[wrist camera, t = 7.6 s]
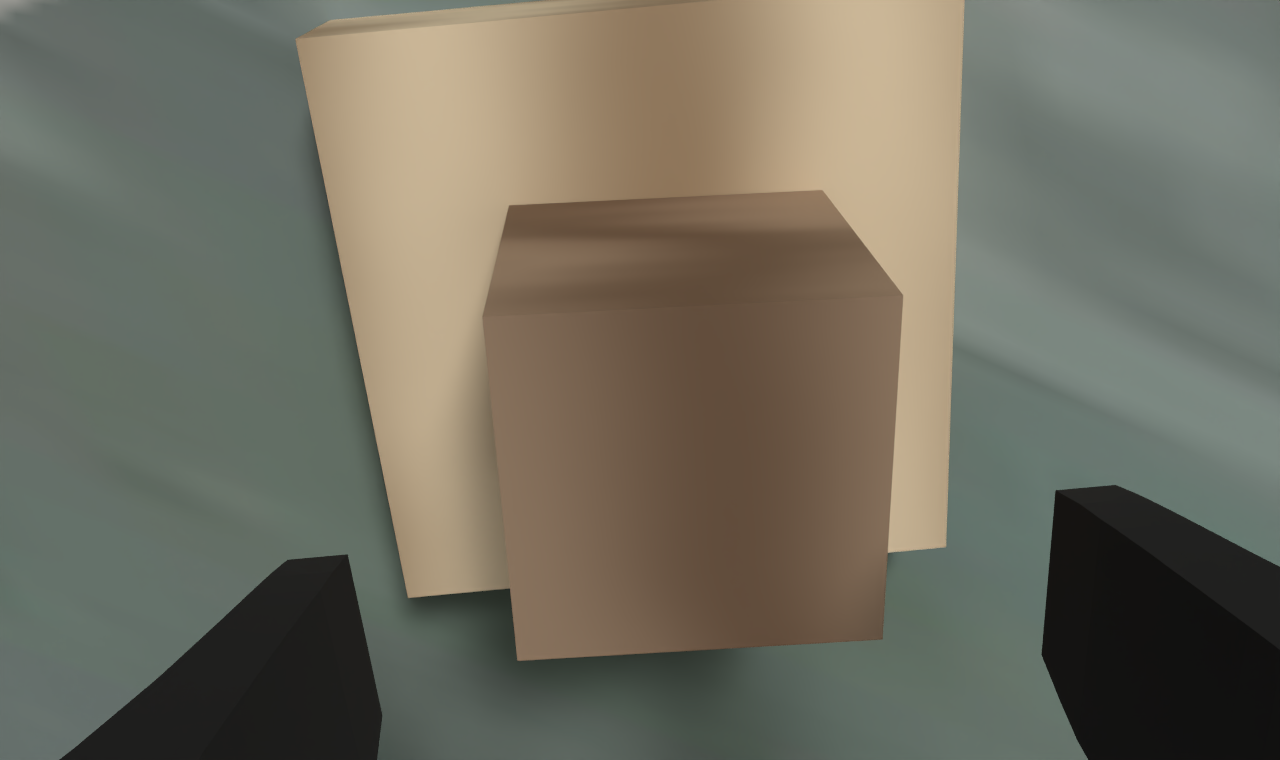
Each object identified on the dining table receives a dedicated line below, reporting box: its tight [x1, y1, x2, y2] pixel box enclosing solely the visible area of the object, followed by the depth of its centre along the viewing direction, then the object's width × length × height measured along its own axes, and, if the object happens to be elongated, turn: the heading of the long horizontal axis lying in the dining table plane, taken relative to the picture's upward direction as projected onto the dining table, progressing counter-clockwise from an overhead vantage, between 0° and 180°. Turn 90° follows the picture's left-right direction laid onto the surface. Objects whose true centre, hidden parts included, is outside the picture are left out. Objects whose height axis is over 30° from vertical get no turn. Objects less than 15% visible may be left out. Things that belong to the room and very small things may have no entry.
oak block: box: [296, 0, 964, 598], centre depth 20 cm, size 10×10×3 cm
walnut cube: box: [482, 190, 903, 661], centre depth 17 cm, size 5×5×5 cm
